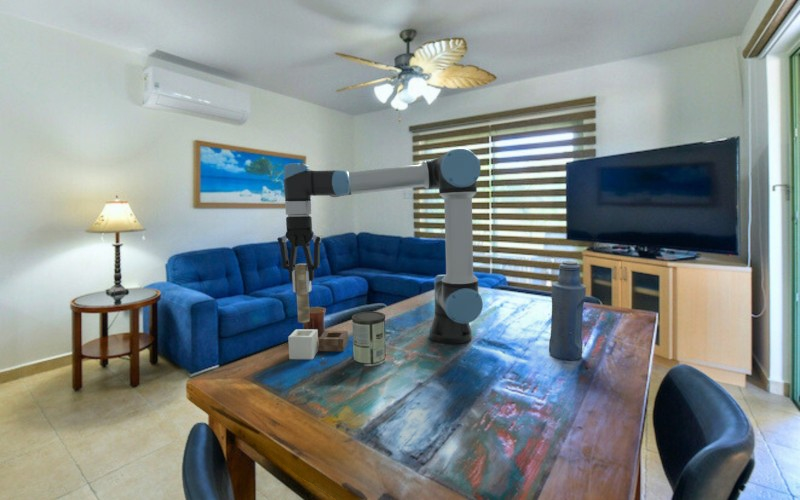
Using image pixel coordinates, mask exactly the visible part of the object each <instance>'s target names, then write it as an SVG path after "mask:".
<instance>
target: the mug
mask: <svg viewBox="0 0 800 500" xmlns="http://www.w3.org/2000/svg"><path fill="white" fill-rule="evenodd" d="M326 311H327V308H326V307H321V306H311V307H310V306H309V314H310V321H309V322H306V323H302V326H303V329H316V330H318V338H320V337H321V335H322V334H323V333H324V331H326V329H325V328H326V327H325V315H326Z"/></svg>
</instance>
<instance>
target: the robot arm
mask: <svg viewBox="0 0 800 500" xmlns="http://www.w3.org/2000/svg"><path fill="white" fill-rule="evenodd" d="M481 168H482V167H481V162H480V159H479V157H478V156H477V155H476V154H475V153H474V152H473V151H471V150H470V149H469V148H468V149H467V148H464V147H457V148H452V149H449V150H448V151H447V152H445V154H443V155H441V156H439V157H437V158H434V159H430V160H429V159H428V160H424V161H422V163H420V164H412V165H411V164H410V165H403V166H392V167H387V168H386V167H384V168H377V169H376V168H375V169H369V170H368V169H367V170H359V171H357V170H356V171H350V172H349V171H348V170H341V169H336V170H333V169H332V170H311V168H310V166H309V164H307V163H301V162H300V163H298V162H297V163H296V162H294V163H291V162H290V163H286V164H285V165H284V166H283V184H284V185H283V186H284V187H283V188H284V200H285V202H284V203H285V206H284V207H285V215H287V216H286V217H285V221H286V223H285V224H286V232H285V234H284V235H283V236H279V237H277V241H278V244H279V248H280V257H281V265H282V269H283V270H287V271H288V277H289V281H290V282H292V293H297V292H296V272H295V265H296V261H297V253H298V248H299V246H300V247H302V250H303V253H304V254H303V255H304V257H305V261H306V264H307V271H306V287H307V292H308V293H310V292H312V281H314V280H315V272H314V271H315V270H317V269H319V268H320V267H321V266H320V265H321V263H320V262H321V242H322V239H323V237H322V236H321V235H316V234H315V233H314V231H313V223H312V222H313V221H312V217H311V214H312V200H311V197H312V196H319V197H320V196H321V197H322V196H324V197H325V196H329V197H331V198H339V197H344V196H350V195H353V196H354V195H360V194H368V193H378V192H387V191H388V192H389V191H395V190H404V189H413V188H414V189H415V188H422V187H423V188H425V189H426V190H432V189H438V194H439V195H438V196H440V197H441V198H442V199H443V201H444V204H443V207H444V232H445V233H444V236H445V237H444V238H445V241H444V242H445V243H444V244H445V274H437V275H436V276H435V277H434V281H433V282H434V283H433V285H434V316H433V320H432V322H431V326H430V329H429V337H430V339H431V340H433V341H434V342H436V343H441V344H451V345H457V344H465V343H467V342H469V341H471V339H472V336H473V335H472V334H473V333H472V329H471V325H470V323H472V322H474V321H475V320H476V319H477V318H478V317H479V316H480V315H481V313H482V311H483V307H484V303H483V298H482V296H481V294H480V293H479V278H478V277H477V276H476V275H475V274H474V255H473V254H474V252H473V251H474V249H473V247H474V245H473V244H474V243H473V241H474V240H473V235H474V233H473V198H474V196H475V195H476V194H477V192H478V191H477V185H478V184H477V180H478V179H479V177H480V175H481V170H482V169H481ZM312 240H313V256H312V253H311V246H310V242H311V241H312ZM288 241H289V243H290V253H288V247H287V246H288V245H287V242H288Z"/></svg>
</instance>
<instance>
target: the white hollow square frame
mask: <svg viewBox="0 0 800 500" xmlns="http://www.w3.org/2000/svg"><path fill="white" fill-rule="evenodd" d="M287 338H288V339H287V340H288V358H289V360H314V357H315V356H316V355H317V353H318V352H319V337H318V330H316V329H304V328H303V329H300V328H299V329H297V328H296V329H295V330H293V332H291V333H290V335H289V336H287Z"/></svg>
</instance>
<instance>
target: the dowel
mask: <svg viewBox="0 0 800 500" xmlns="http://www.w3.org/2000/svg"><path fill="white" fill-rule="evenodd" d="M294 270H295V272H296V292H295V293H296V306H297V307H296V308H297V322H298V323H301V324H303V323H306V322H309V321H310V314H309V308H310V297H309V293H310V292H307V287H306V271H307V270H308V267H307V263H297V264H296V263H295V269H294Z"/></svg>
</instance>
